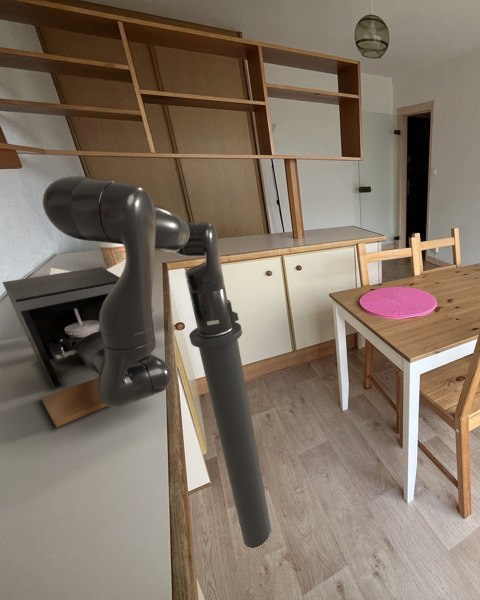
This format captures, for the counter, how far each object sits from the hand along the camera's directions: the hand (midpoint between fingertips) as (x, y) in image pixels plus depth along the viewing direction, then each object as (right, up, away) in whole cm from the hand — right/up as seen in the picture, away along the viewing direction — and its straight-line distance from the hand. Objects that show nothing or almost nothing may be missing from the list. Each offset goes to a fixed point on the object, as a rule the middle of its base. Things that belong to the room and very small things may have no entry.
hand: (85, 331), depth 76 cm
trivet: (+10, -13, -9) cm, 19 cm away
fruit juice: (-57, +22, +74) cm, 96 cm away
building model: (-33, +7, +39) cm, 52 cm away
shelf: (-1, -8, +4) cm, 9 cm away
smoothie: (-1, -8, +4) cm, 9 cm away
